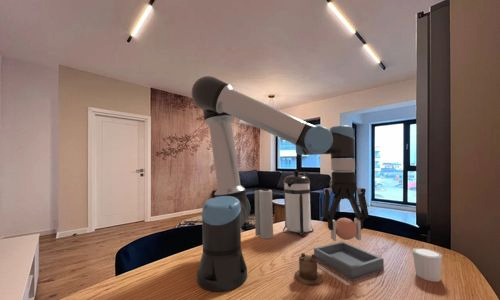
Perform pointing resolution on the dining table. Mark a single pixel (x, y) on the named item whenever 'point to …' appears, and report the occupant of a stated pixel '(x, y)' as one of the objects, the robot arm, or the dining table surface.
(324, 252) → the tray
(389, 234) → the dining table surface
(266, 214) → the gray grooved column
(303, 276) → the tee
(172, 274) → the dining table surface
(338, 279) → the line
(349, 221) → the ball
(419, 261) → the white short cylinder
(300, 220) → the coffee press
